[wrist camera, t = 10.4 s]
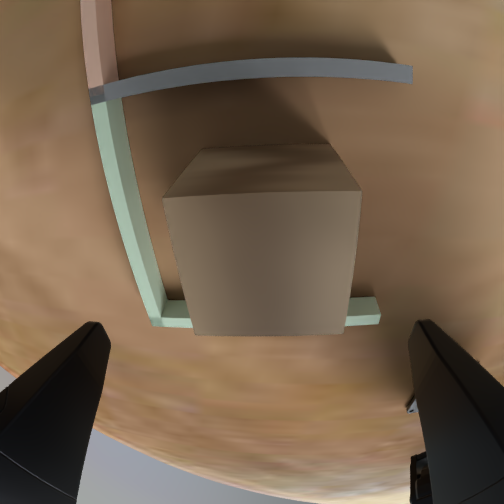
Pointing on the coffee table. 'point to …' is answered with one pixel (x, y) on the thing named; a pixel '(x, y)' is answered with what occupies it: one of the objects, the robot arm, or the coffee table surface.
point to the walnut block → (265, 239)
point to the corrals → (119, 155)
